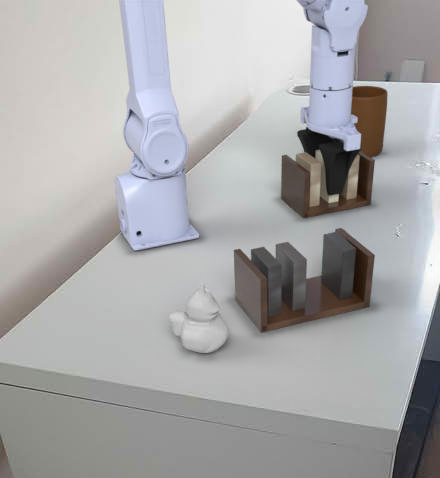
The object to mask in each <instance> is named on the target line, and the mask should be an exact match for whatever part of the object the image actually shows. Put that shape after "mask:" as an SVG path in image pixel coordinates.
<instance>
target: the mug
mask: <svg viewBox="0 0 440 478" xmlns="http://www.w3.org/2000/svg"><path fill="white" fill-rule="evenodd" d="M388 94H389V93H388V90H387V89H386V88H383V87H381V86H376V85H355V86H353V90H352V105H351V114H352V115H354V116H356V117H358V121H357V123H354V126H355V128H356V130H357V131H358V132H359V133H360V134H361V143H360V144H361V150H360V151H361V152H362V153H364V154H366V155H367V156H369V157H370V158H374V157H376V156H379V155H380V154H381V153H382V150H383V147H384V139H385V131H386V130H385V129H386V121H387V110H388Z"/></svg>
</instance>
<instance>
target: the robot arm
mask: <svg viewBox="0 0 440 478" xmlns="http://www.w3.org/2000/svg"><path fill="white" fill-rule="evenodd" d="M296 2H297V3H298V4H299V5H300V6H301V7H302V9H303V14H304V18H305V20H306V21H307V22H308V23H311V42H310V44H311V45H310V71H309V72H310V73H309V74H310V75H309V97H308V98H309V101H308V102H309V103H308V106H303V107H300V123H302V124H303V125H304V124H306V126H305V128H304V129H300V130H298V131H297V132H296V135H297V136H296V137H298V140H299V142H300V144H301V146H302V149H303V151H304V152H306V153H308V154H309V155H311V156H312V157H314V158H315V154H316V150H320V152H321V154H322V157H323V161H324V166H325V175H326V189H327V194H328V195H335V194H340V193H342V191H343V188H344V185H345V182H346V179H347V176H348V173H349V170H350V168H351V165H352V163H353V161H354V159H355V158H356V156H357V155H358V153H359V152H360V150H361V144H360V143H361V134H360V133H359V132H358V131H357V130H356V128H355V126H354V123H357V121H358V117H356V116H354V115H352V114H351V105H352V90H353V87H354V75H355V61H356V60H355V59H356V46H357V45H356V44H357V43H358V42H357V41H358V33H359V30H360V28H361V27H362V26H363V23H364V22H365V19H366V17H367V14H368V8H369V6H368V4H366V3H365V2H366V1H365V0H296ZM118 4H119V10H120V11H119V12H120V18H121V28H122V35H123V44H124V53H125V61H126V69H127V76H128V85H129V90H128V92H127V95H126V99H125V103H126V117H125V120H124V122H123V127H122V135H123V140H124V143H125V145H126V146H127V148H128V149H129V150H130V151H131V152H132V153H133V155H132V158H131V161H130V164H129V170H128V171H127V172H125V173H121V174H119V175H116V176H114V191H115V197H116V205H117V212H118V219H119V225H120V226H119V230H120V232H121V233H122V235H123V238H125V239H126V241H127V242H128V245H129V246H130V247H131V249H132V251H133V250H134V251H141V250H146V249H151V248H155V247H160V246H165V245H171V244H176V243H182V242H186V241H191V240H195V239H196V240H197V239H199V238H200V233H199V232H198V231H197V229H196V228H195V227H194V226H193V225H192V223H190V216H189V204H188V202H189V201H188V191H187V190H188V189H187V179H186V178H187V177H186V162H187V159H188V156H189V150H190V148H189V146H190V145H189V141H188V138H187V136H186V134H185V132H184V131H183V129H182V127H181V124H180V115H179V110H178V107H177V104H176V100H175V98H174V95H173V91H172V86H171V72H170V62H169V51H168V50H169V49H168V40H167V39H168V37H167V29H166V27H167V26H166V16H165V7H164V6H165V3H164V0H118ZM304 152H303V153H304Z"/></svg>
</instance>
